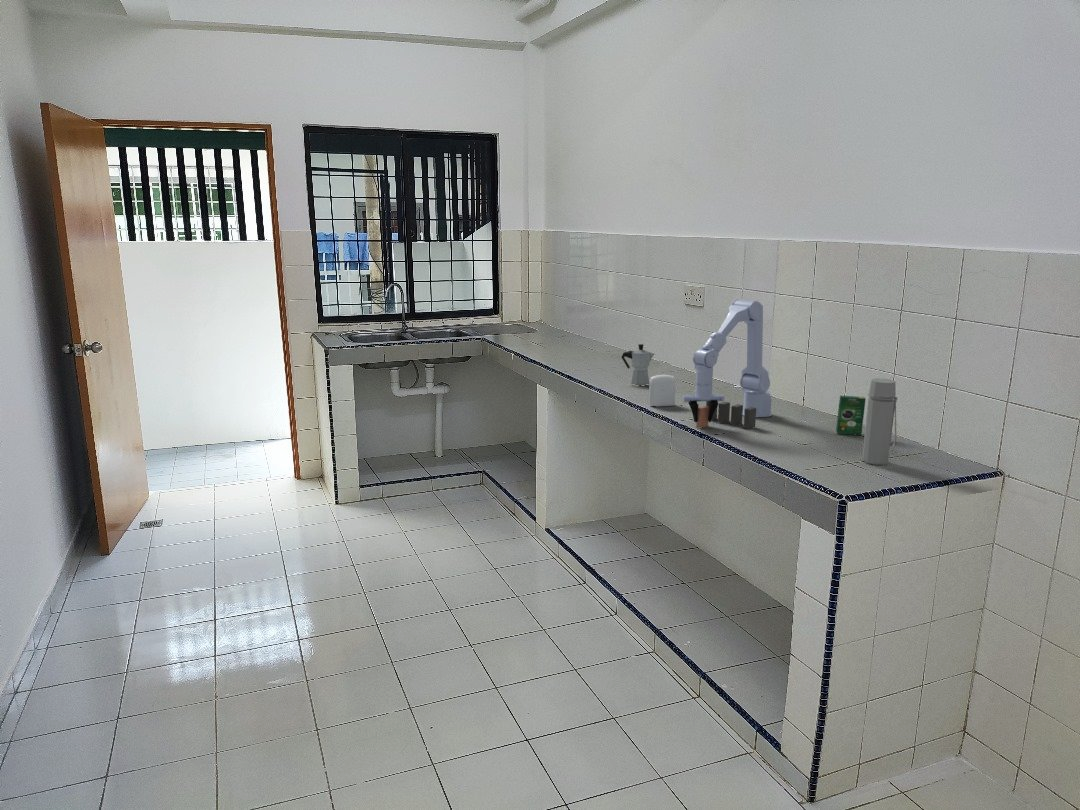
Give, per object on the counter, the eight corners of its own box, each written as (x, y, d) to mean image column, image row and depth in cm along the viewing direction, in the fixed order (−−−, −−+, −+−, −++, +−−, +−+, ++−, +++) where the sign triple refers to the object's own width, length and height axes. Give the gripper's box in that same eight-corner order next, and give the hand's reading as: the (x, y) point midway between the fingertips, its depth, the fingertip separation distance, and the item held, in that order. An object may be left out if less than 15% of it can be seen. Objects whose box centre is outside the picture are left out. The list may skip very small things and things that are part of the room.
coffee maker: (654, 382, 346) (655, 342, 342) (655, 386, 337) (656, 345, 333) (620, 382, 347) (621, 342, 343) (620, 386, 339) (621, 345, 335)
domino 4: (755, 427, 270) (756, 407, 268) (748, 429, 268) (749, 409, 266) (750, 426, 272) (751, 406, 270) (743, 428, 269) (744, 408, 267)
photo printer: (650, 407, 300) (651, 376, 297) (647, 404, 304) (648, 374, 301) (676, 406, 301) (677, 375, 298) (673, 404, 305) (674, 373, 302)
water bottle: (868, 466, 226) (876, 383, 220) (857, 458, 234) (864, 378, 228) (899, 466, 226) (908, 383, 220) (887, 458, 234) (895, 377, 228)
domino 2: (729, 421, 278) (730, 402, 277) (722, 423, 276) (723, 404, 274) (724, 420, 280) (725, 401, 278) (717, 422, 277) (718, 403, 276)
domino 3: (742, 424, 274) (743, 405, 272) (735, 426, 272) (736, 407, 270) (737, 423, 276) (738, 404, 274) (730, 425, 273) (731, 406, 271)
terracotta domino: (708, 426, 272) (708, 407, 270) (700, 428, 270) (701, 408, 268) (703, 425, 274) (704, 406, 272) (696, 427, 271) (697, 407, 269)
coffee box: (861, 433, 261) (864, 395, 258) (862, 435, 258) (865, 397, 255) (835, 432, 262) (838, 395, 259) (837, 434, 260) (840, 396, 257)
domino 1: (716, 418, 282) (717, 400, 281) (710, 420, 280) (710, 401, 278) (712, 417, 284) (713, 399, 282) (705, 419, 281) (706, 400, 280)
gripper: (720, 380, 272) (719, 417, 276) (680, 381, 271) (679, 419, 274) (727, 384, 266) (725, 422, 269) (685, 386, 264) (684, 424, 268)
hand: (702, 421), depth 271 cm, fingers closed on terracotta domino, 4 cm apart
